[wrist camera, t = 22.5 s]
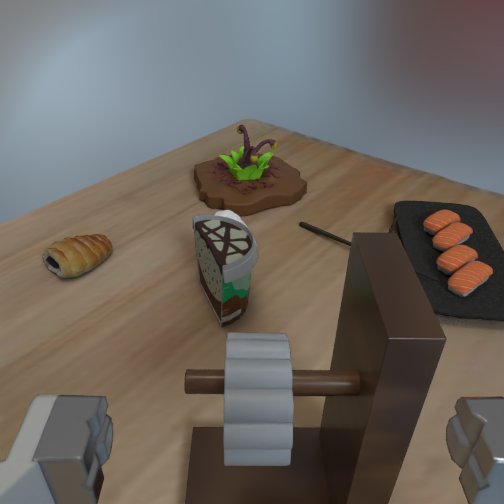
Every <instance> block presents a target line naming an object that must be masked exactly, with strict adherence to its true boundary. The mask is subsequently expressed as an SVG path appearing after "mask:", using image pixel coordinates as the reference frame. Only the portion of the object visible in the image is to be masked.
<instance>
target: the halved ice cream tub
mask: <svg viewBox="0 0 504 504" xmlns="http://www.w3.org/2000/svg"><path fill="white" fill-rule="evenodd" d="M193 229H194V234H195V245H196V256H197V267H198V278H199V284H200V286H201V288H202V290H203V292H204V293H205V295H206V297H207V299H208V301H209V303H210V305H211V307H212V309H213V311H214V313H215V315H216V317H217V319H218V321H219V323H220V325H221V327H223V326H226V325H229V324H231V323H232V322H234V321H236V320H237V319H239V318H240V317H241V316H242V314H243V313H244V312H245V310H246V307H247V304H248V295H249V286H250V277H251V269H252V268H253V267H254V266H255V264H256V262H257V259H258V249H257V245H256V241H255V238H254V236H253V234H252V232H251V231H250V230H249V228H248V227H247V226H245V225H244V224H242V223H241V222H239V221H237V220H234V219H231V218H228V217H223V216H215V215H202V216H194V217H193Z"/></svg>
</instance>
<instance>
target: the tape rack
mask: <svg viewBox="0 0 504 504" xmlns="http://www.w3.org/2000/svg"><path fill="white" fill-rule="evenodd" d="M445 342H446V336H445V334H444V332H443V330H442V328H441V326H440V324H439V322H438V319H437V317H436V315H435V313H434V311H433V309H432V307H431V305H430V303H429V300H428V298H427V296H426V294H425V292H424V290H423V288H422V286H421V284H420V281H419V279H418V277H417V275H416V273H415V271H414V269H413V267H412V264H411V262H410V260H409V258H408V256H407V254H406V252H405V250H404V248H403V245H402V243H401V241H400V239H399V237H398V235H397V233H358V232H354V233H353V236H352V242H351V248H350V254H349V260H348V266H347V272H346V278H345V284H344V290H343V296H342V302H341V308H340V313H339V319H338V325H337V331H336V337H335V343H334V349H333V355H332V361H331V367H330V370H292V392H293V396H326V397H325V403H324V409H323V415H322V421H321V427H320V428H293V445H292V449H291V461H290V465H287V466H225V465H224V445H223V437H224V427H193V433H192V443H191V452H190V462H189V471H188V481H187V491H186V500H185V504H388V503H389V500H390V497H391V494H392V492H393V489H394V486H395V483H396V480H397V478H398V475H399V472H400V469H401V466H402V463H403V461H404V458H405V455H406V452H407V449H408V447H409V444H410V441H411V438H412V435H413V432H414V430H415V427H416V424H417V421H418V418H419V416H420V413H421V410H422V407H423V404H424V401H425V399H426V396H427V393H428V390H429V387H430V385H431V382H432V379H433V376H434V373H435V370H436V368H437V365H438V362H439V359H440V356H441V353H442V351H443V348H444V345H445ZM224 376H225V370H190V369H187V370H186V373H185V393H186V394H224Z"/></svg>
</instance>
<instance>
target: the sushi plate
mask: <svg viewBox="0 0 504 504" xmlns="http://www.w3.org/2000/svg"><path fill="white" fill-rule="evenodd" d="M394 213H395V220H394V222H393V224H392V226H391V228H390V230H389V232H388V233H391V232H392V230H393V228H394V226H395V223H396V222H397V226H398V229H399V233H400V237H401V240H402V244H403V248H404V250H405V252H406V254H407V256H408V258H409V260H410V262H411V264H412V267H413V269H414V271H415V273H416V275H417V277H418V279H419V281H420V284H421V286H422V288H423V290H424V292H425V294H426V296H427V298H428V300H429V303H430V305H431V307H432V309H433V311H434V312H435V313H438V314H442V315H448V316H455V317H465V318H475V319H487V320H500V321H504V251H503V249H502V247H501V246H500V244H499V242H498V240H497V239H496V237H495V235H494V233H493V231H492V230H491V228H490V226H489V225H488V223H487V221H486V219H485V218H484V216H483V215H482V214H481V213H480V212H479V211H478V210H477V209H476V208H474V207H471V206H467V205H462V204H453V203H441V202H426V201H400V202H397V203H396V204H395V206H394ZM300 226H302V227H304V228H307V229H309V230H311V231H314V232H316V233H319V234H321V235H324V236H326V237H329V238H331V239H334V240H336V241H339V242H341V243H344V244H346V245H349V246H351V242H349V241H347V240H344V239H342V238H340V237H337V236H335V235H333V234H330V233H328V232H326V231H323V230H321V229H319V228H316V227H314V226H312V225H309V224H307V223H304V222H300Z"/></svg>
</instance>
